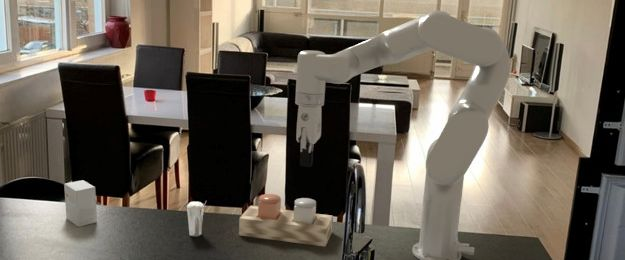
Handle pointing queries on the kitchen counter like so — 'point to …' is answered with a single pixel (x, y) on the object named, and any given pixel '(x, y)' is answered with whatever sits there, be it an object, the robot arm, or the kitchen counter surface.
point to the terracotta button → (269, 206)
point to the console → (286, 227)
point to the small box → (80, 203)
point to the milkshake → (195, 218)
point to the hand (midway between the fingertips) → (306, 165)
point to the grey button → (304, 210)
